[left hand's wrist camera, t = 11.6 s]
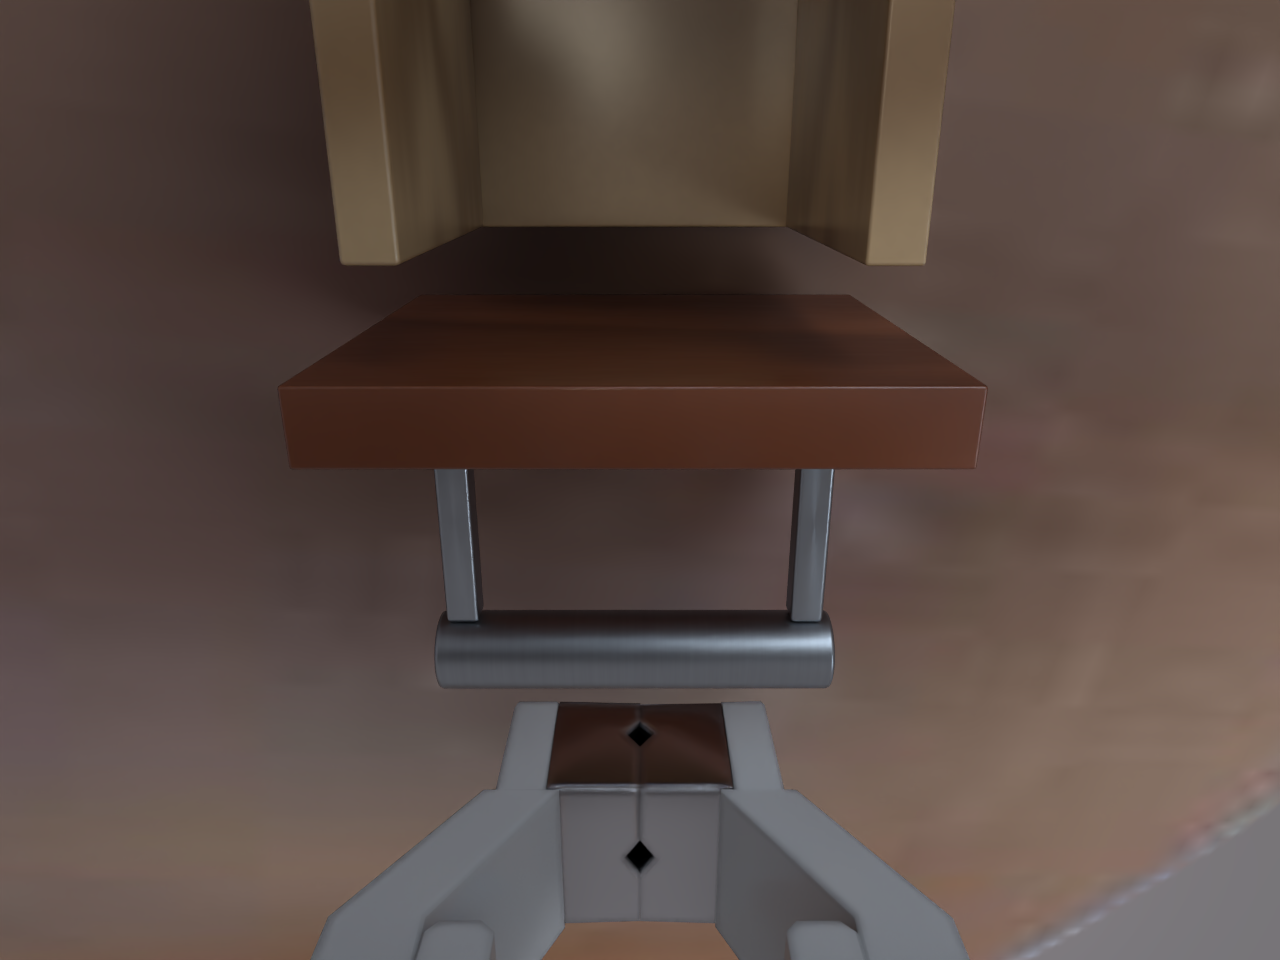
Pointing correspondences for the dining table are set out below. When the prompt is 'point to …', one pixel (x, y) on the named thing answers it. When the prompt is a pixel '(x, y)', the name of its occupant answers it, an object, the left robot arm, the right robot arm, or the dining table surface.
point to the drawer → (633, 324)
